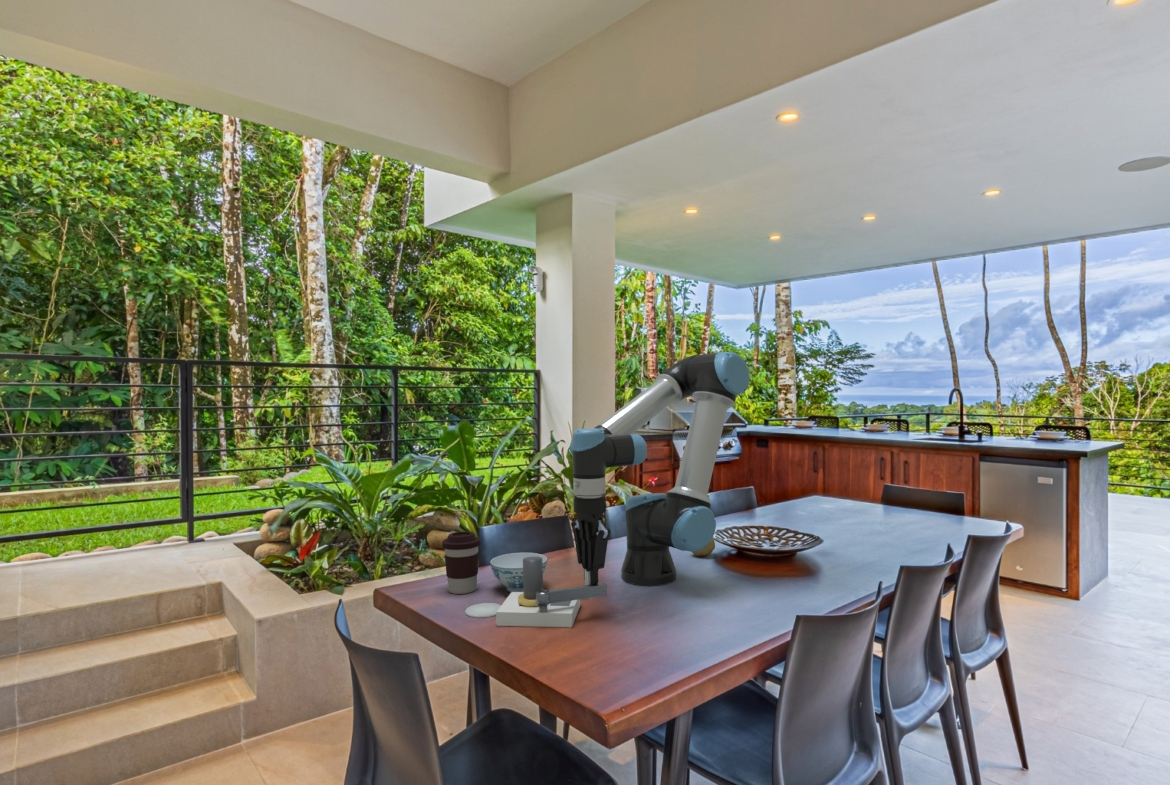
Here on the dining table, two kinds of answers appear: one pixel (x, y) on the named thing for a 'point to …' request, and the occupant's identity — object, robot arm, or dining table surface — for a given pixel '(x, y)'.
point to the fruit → (706, 549)
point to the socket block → (536, 613)
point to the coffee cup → (461, 561)
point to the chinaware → (512, 569)
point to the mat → (482, 610)
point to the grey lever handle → (570, 593)
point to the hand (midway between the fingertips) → (591, 597)
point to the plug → (531, 580)
